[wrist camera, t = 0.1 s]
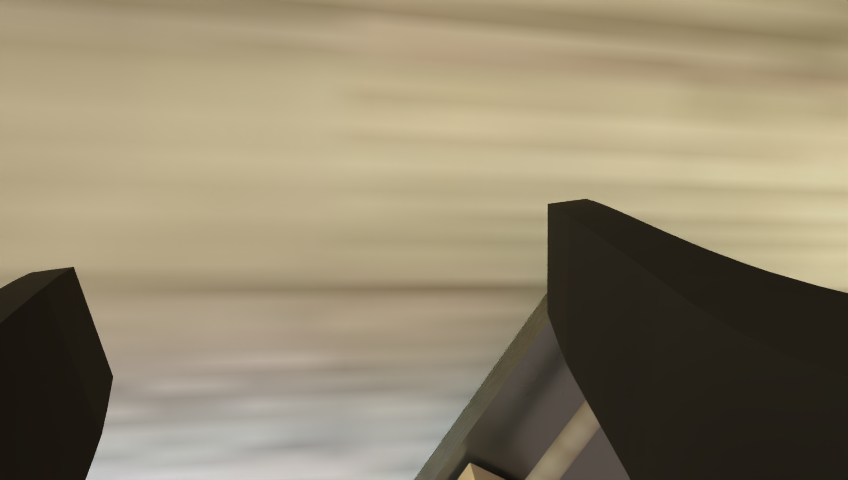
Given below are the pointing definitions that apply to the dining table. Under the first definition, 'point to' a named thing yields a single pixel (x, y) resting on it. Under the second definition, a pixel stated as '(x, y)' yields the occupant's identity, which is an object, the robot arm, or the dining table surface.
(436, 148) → the dining table surface
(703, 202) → the dining table surface
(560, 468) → the slider
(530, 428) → the bolt plate
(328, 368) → the dining table surface
